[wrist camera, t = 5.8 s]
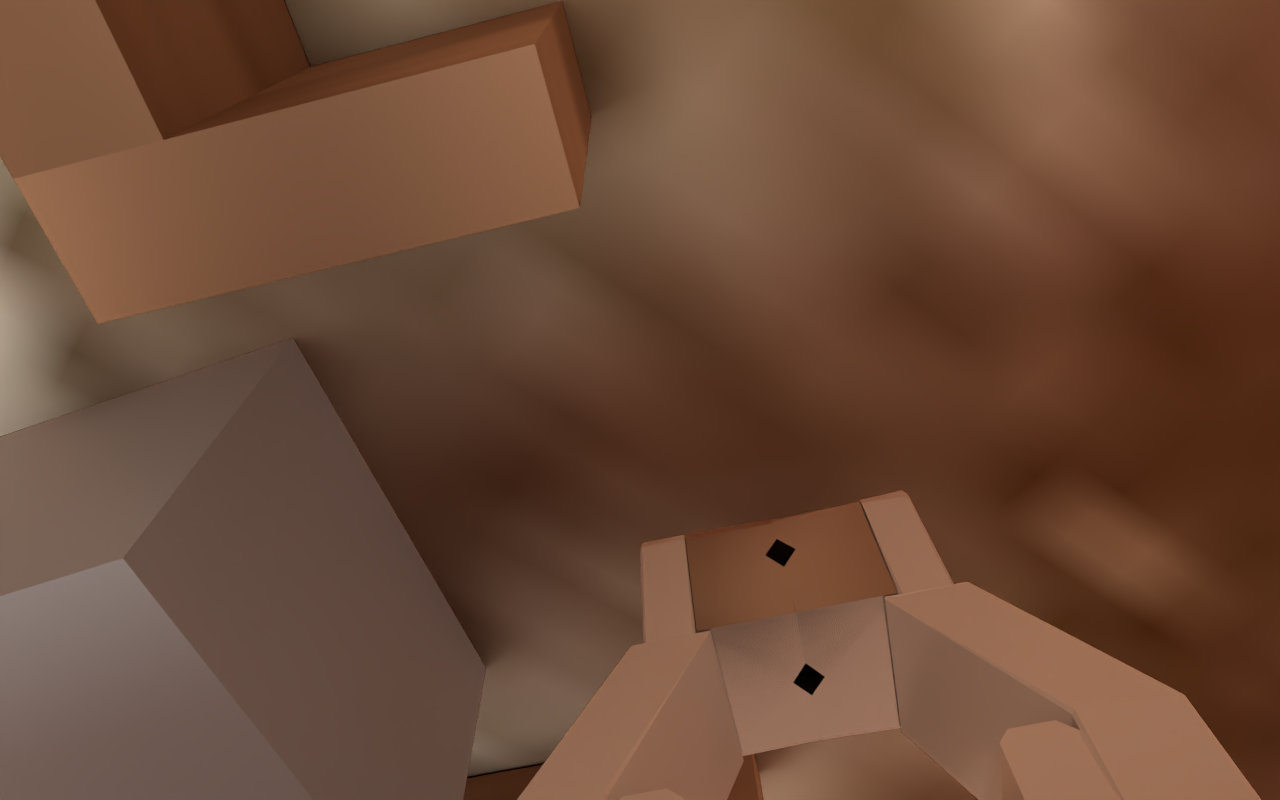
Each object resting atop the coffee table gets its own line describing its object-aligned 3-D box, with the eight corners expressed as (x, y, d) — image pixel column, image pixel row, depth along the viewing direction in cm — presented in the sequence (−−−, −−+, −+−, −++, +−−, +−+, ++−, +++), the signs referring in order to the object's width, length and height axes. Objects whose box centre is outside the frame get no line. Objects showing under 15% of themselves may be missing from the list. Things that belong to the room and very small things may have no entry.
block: (297, 331, 11) (122, 558, 7) (487, 661, 14) (435, 955, 10) (-100, 467, 12) (-449, 735, 8) (154, 753, 15) (-14, 1057, 11)
